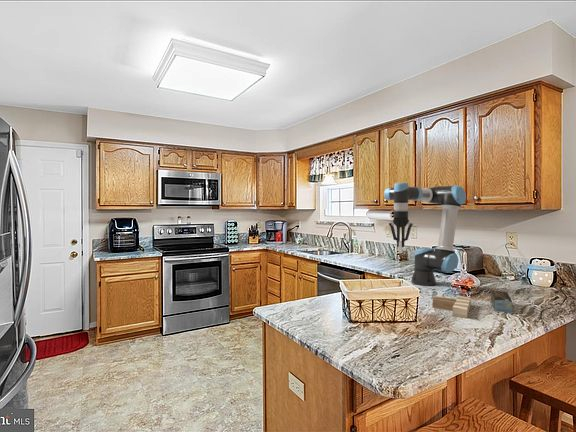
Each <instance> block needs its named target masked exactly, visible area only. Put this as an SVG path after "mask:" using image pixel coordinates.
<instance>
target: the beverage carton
mask: <svg viewBox="0 0 576 432" xmlns="http://www.w3.org/2000/svg"><path fill="white" fill-rule="evenodd" d="M490 302H491V305H492V307H493V310H494V312H498V313H499V312H500V313H506V312H507V313H509V314H513V312H514V311H513V309H514V307H513V306H514V305H513V300H512V298H511V297H510V294H509V293H508V291H499V290H498V291H497V290H490ZM507 313H506V314H507Z"/></svg>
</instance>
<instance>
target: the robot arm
mask: <svg viewBox="0 0 576 432" xmlns="http://www.w3.org/2000/svg"><path fill="white" fill-rule="evenodd" d="M393 186H394V187H387V188H385V189H384V191H383V197H384V199H385V200H386V201H393V210H394V211H393V220H392V221H391V222H389V223H388V225H389V227H390V229H391V234H392V238H393V240H394V241H396V247H398V254H403V248H404V247H405V242H406V241H408V240H409V237H410V233H411V229H412V227H413V226H414V224H413V223H411V221H410V220H409V211H408V210H409V201H418V202H419V201H420V202H422V203H429V204H435V205H440V208H441V209H442V212H441V220H440V227H439V237H438V242H437V243H438V244H437V246H436V247H435V248H431V247H430V248H429V247H427V248H416V249H415V251H414V269H413V270H414V271H413V273H412V277H411V281H410V283H411V284H415V285H417V286H423V287H424V286H427V287H428V286H433V287H434V286H436V285H437V279H436V278H435V274H434V270H435V271H440V272H448V273H451V272H454V271H455V270H456V269H457V267H458V264H459V255H457V254H456V250H455V249H454V241H455V234H456V233H455V232H456V225H457V218H458V211H459V210H460V209H461V208H462V205H463V204H465V203H466V200H467V194H466V191H465V188H463V187H462V186H461V185H442V186H441V185H440V186H433V187H424V188H421V187H420V186H419V187H418V186H409V183H408V182H396V183H394V185H393ZM394 225H395V226H396V231H395V227H394ZM406 227H408V228H407V230H406ZM405 231H406V232H405ZM405 233H406V235H405Z"/></svg>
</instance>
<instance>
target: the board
mask: <svg viewBox="0 0 576 432" xmlns="http://www.w3.org/2000/svg"><path fill="white" fill-rule="evenodd" d="M455 299H456V301H455V303H454V305H453V311H451V312H452V317H458V318H464V319H467V318H468V315H469V313H470V309H471V304H472V297H470V296H463V295H462V296H461V295H457V296H456V298H455Z"/></svg>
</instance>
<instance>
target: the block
mask: <svg viewBox="0 0 576 432" xmlns="http://www.w3.org/2000/svg"><path fill="white" fill-rule="evenodd" d="M456 299H457V298H450V297H443V296H436V295H435V296H433V298H432V306H431V307H432V308H433V309H439V310H447V311H450V312H453V305H454V303H455V301H456Z"/></svg>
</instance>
